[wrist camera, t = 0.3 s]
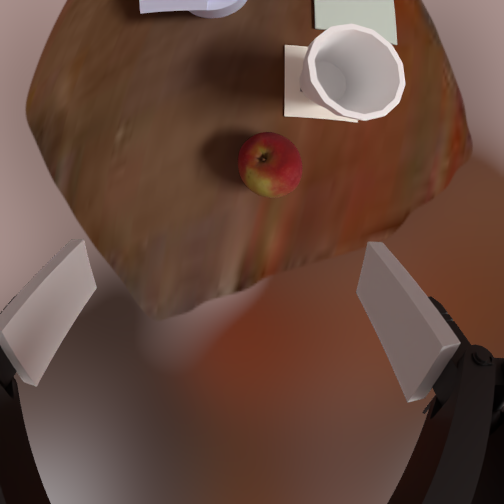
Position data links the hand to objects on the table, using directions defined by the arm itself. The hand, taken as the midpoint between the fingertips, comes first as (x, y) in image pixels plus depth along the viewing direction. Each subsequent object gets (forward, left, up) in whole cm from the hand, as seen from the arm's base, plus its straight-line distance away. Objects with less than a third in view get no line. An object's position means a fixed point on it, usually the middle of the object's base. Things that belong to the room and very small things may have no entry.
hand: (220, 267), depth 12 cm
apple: (0, +4, -27) cm, 28 cm away
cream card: (-11, +11, -27) cm, 31 cm away
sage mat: (-25, +16, -27) cm, 40 cm away
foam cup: (-11, +11, -27) cm, 31 cm away
